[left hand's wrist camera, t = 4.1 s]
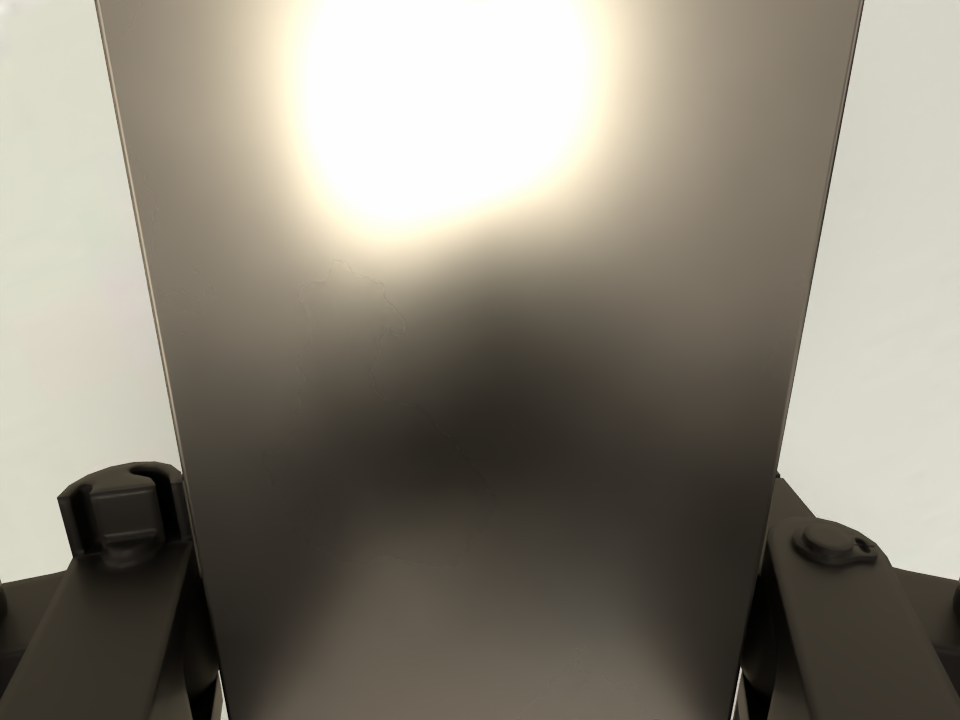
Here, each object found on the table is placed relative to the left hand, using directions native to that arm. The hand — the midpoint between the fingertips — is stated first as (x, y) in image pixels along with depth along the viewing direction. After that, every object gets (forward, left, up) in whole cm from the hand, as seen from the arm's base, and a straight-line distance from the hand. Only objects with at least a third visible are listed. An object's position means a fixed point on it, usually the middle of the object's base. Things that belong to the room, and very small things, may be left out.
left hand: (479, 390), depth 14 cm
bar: (+7, +4, -1) cm, 8 cm away
